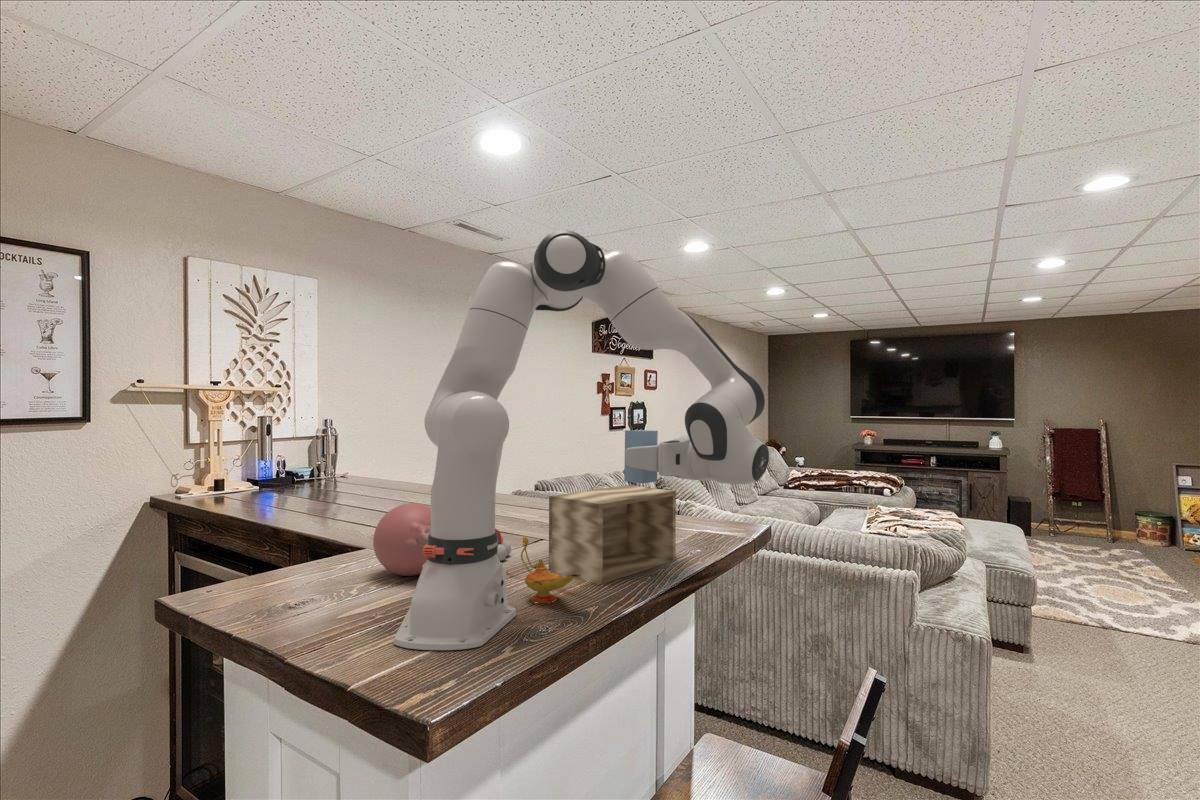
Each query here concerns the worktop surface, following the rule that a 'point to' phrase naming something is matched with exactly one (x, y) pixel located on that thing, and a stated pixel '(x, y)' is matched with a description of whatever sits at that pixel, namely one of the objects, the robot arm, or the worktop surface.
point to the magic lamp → (543, 579)
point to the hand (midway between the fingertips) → (637, 453)
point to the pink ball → (403, 538)
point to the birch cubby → (611, 532)
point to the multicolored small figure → (502, 547)
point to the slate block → (636, 440)
